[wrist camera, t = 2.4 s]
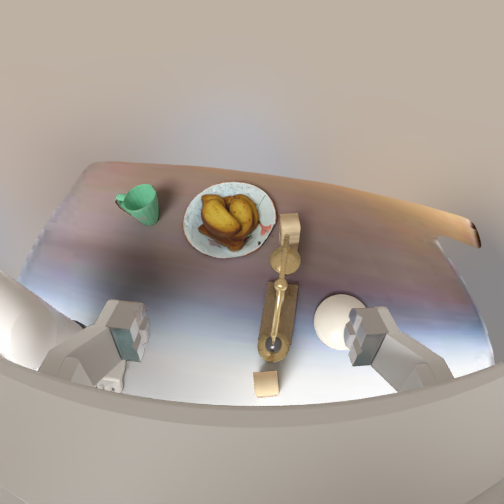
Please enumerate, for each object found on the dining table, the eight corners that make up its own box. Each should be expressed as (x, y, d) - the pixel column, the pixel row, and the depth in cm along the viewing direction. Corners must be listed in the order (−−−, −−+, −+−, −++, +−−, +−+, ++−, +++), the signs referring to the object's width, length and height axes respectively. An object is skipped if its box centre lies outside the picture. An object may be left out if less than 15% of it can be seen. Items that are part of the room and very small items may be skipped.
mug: (171, 208, 82) (161, 185, 73) (158, 235, 77) (145, 212, 68) (132, 203, 84) (120, 182, 76) (118, 228, 79) (104, 207, 71)
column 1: (277, 396, 53) (278, 392, 43) (258, 397, 53) (254, 394, 43) (275, 378, 55) (276, 370, 45) (256, 379, 55) (253, 372, 45)
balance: (287, 366, 56) (294, 348, 40) (254, 362, 57) (248, 341, 42) (299, 270, 68) (307, 222, 53) (271, 266, 69) (270, 218, 54)
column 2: (296, 256, 70) (300, 227, 60) (280, 257, 70) (282, 228, 60) (294, 242, 72) (297, 213, 62) (279, 244, 73) (279, 214, 62)
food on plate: (286, 199, 81) (287, 183, 75) (258, 272, 69) (257, 258, 64) (207, 182, 87) (203, 167, 81) (169, 246, 75) (162, 232, 69)
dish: (344, 362, 56) (346, 361, 54) (301, 325, 61) (302, 323, 60) (378, 320, 60) (380, 318, 59) (337, 286, 65) (338, 283, 64)
